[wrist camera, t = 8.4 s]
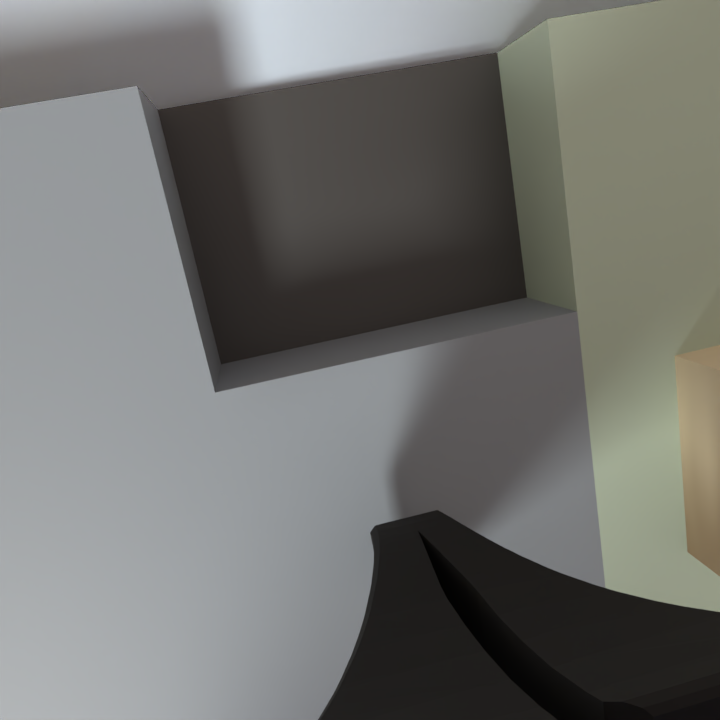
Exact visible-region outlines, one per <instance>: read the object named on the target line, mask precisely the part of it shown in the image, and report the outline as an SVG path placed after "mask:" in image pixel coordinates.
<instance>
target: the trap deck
mask: <svg viewBox="0 0 720 720" xmlns="http://www.w3.org/2000/svg"><path fill="white" fill-rule="evenodd" d="M717 345H720V0H660V1H653V2H647V3H641V4H635V5H629V6H623V7H617V8H611V9H604V10H598V11H592V12H586V13H580V14H574V15H568V16H562V17H556V18H549V19H546V20H545V21H543V22H542V23H540V24H539V25H538V26H536V27H535V28H533V29H532V30H530V31H529V32H527V33H526V34H524V35H523V36H521V37H520V38H518V39H517V40H515V41H514V42H512V43H511V44H510V45H508V46H507V47H505V48H504V49H502V50H501V51H499V52H498V53H493V54H487V55H481V56H475V57H469V58H463V59H457V60H452V61H446V62H440V63H434V64H428V65H422V66H416V67H410V68H404V69H398V70H392V71H386V72H380V73H374V74H368V75H363V76H357V77H351V78H345V79H339V80H333V81H327V82H321V83H315V84H309V85H303V86H297V87H291V88H285V89H279V90H273V91H268V92H262V93H256V94H250V95H244V96H238V97H232V98H226V99H220V100H214V101H208V102H202V103H196V104H190V105H184V106H179V107H173V108H167V109H161V110H157V109H156V107H155V106H154V105H153V104H152V103H151V102H150V100H149V99H148V98H147V97H146V96H145V95H144V93H143V92H142V91H141V90H140V89H139V88H138V86H133V87H127V88H121V89H115V90H109V91H103V92H96V93H90V94H84V95H78V96H72V97H66V98H60V99H54V100H47V101H41V102H35V103H29V104H23V105H17V106H11V107H5V108H0V720H318V719H319V717H320V716H321V714H322V712H323V711H324V709H325V707H326V705H327V704H328V702H329V700H330V699H331V697H332V695H333V694H334V692H335V690H336V688H337V686H338V684H339V682H340V680H341V678H342V675H343V673H344V671H345V668H346V666H347V664H348V662H349V659H350V657H351V655H352V652H353V650H354V647H355V644H356V641H357V638H358V636H359V633H360V629H361V626H362V623H363V619H364V616H365V611H366V607H367V602H368V598H369V594H370V589H371V582H372V574H373V565H374V550H373V545H372V540H371V535H370V532H371V531H372V529H373V528H374V526H375V525H379V524H383V523H387V522H391V521H395V520H399V519H403V518H407V517H411V516H415V515H419V514H423V513H427V512H431V511H435V510H439V511H440V512H442V513H444V514H446V515H448V516H449V517H451V518H453V519H454V520H456V521H458V522H459V523H461V524H463V525H465V526H466V527H468V528H470V529H471V530H473V531H475V532H477V533H478V534H480V535H482V536H484V537H485V538H487V539H489V540H491V541H493V542H495V543H497V544H498V545H500V546H502V547H504V548H506V549H508V550H510V551H512V552H514V553H516V554H518V555H520V556H522V557H525V558H527V559H529V560H531V561H534V562H536V563H538V564H540V565H543V566H545V567H547V568H550V569H552V570H555V571H557V572H560V573H562V574H565V575H568V576H571V577H574V578H576V579H579V580H582V581H585V582H588V583H591V584H594V585H597V586H600V587H604V588H607V589H610V590H614V591H617V592H621V593H625V594H629V595H634V596H638V597H642V598H646V599H650V600H654V601H659V602H664V603H669V604H674V605H679V606H684V607H691V608H697V609H704V610H710V611H716V612H720V576H718V575H717V574H716V573H714V572H713V571H712V570H711V569H709V568H708V567H707V566H705V565H704V564H703V563H701V562H700V561H699V560H697V559H696V558H695V557H693V556H692V555H691V554H690V553H688V552H687V537H686V522H685V507H684V492H683V476H682V461H681V446H680V431H679V416H678V400H677V385H676V370H675V356H676V355H680V354H684V353H688V352H692V351H696V350H701V349H705V348H709V347H713V346H717Z"/></svg>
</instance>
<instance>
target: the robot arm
mask: <svg viewBox="0 0 720 720" xmlns="http://www.w3.org/2000/svg"><path fill="white" fill-rule="evenodd" d="M370 535H371V540H372V545H373V550H374V565H373V574H372V582H371V589H370V594H369V598H368V602H367V607H366V611H365V616H364V619H363V623H362V626H361V629H360V633H359V636H358V638H357V641H356V644H355V647H354V650H353V652H352V655H351V657H350V659H349V662H348V664H347V666H346V668H345V671H344V673H343V675H342V678H341V680H340V682H339V684H338V686H337V688H336V690H335V692H334V694H333V695H332V697H331V699H330V700H329V702H328V704H327V705H326V707H325V709H324V711H323V712H322V714H321V716H320V717H319V719H318V720H720V612H716V611H710V610H704V609H697V608H691V607H684V606H679V605H674V604H669V603H664V602H659V601H654V600H650V599H646V598H642V597H638V596H634V595H629V594H625V593H621V592H617V591H614V590H610V589H607V588H604V587H600V586H597V585H594V584H591V583H588V582H585V581H582V580H579V579H576V578H574V577H571V576H568V575H565V574H562V573H560V572H557V571H555V570H552V569H550V568H547V567H545V566H543V565H540V564H538V563H536V562H534V561H531V560H529V559H527V558H525V557H522V556H520V555H518V554H516V553H514V552H512V551H510V550H508V549H506V548H504V547H502V546H500V545H498V544H497V543H495V542H493V541H491V540H489V539H487V538H485V537H484V536H482V535H480V534H478V533H477V532H475V531H473V530H471V529H470V528H468V527H466V526H465V525H463V524H461V523H459V522H458V521H456V520H454V519H453V518H451V517H449V516H448V515H446V514H444V513H442V512H440V511H439V510H435V511H431V512H427V513H423V514H419V515H415V516H411V517H407V518H403V519H399V520H395V521H391V522H387V523H383V524H379V525H375V526H374V528H373V529H372V531H371V532H370Z"/></svg>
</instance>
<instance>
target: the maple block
mask: <svg viewBox="0 0 720 720" xmlns="http://www.w3.org/2000/svg"><path fill="white" fill-rule="evenodd" d="M675 370H676V385H677V400H678V416H679V431H680V446H681V461H682V476H683V492H684V507H685V522H686V537H687V552H688V553H690V554H691V555H692V556H693V557H695V558H696V559H697V560H699V561H700V562H701V563H703V564H704V565H705V566H707V567H708V568H709V569H711V570H712V571H713V572H714V573H716V574H717V575H718V576H720V345H717V346H713V347H709V348H705V349H701V350H696V351H692V352H688V353H684V354H680V355H676V356H675Z"/></svg>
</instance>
